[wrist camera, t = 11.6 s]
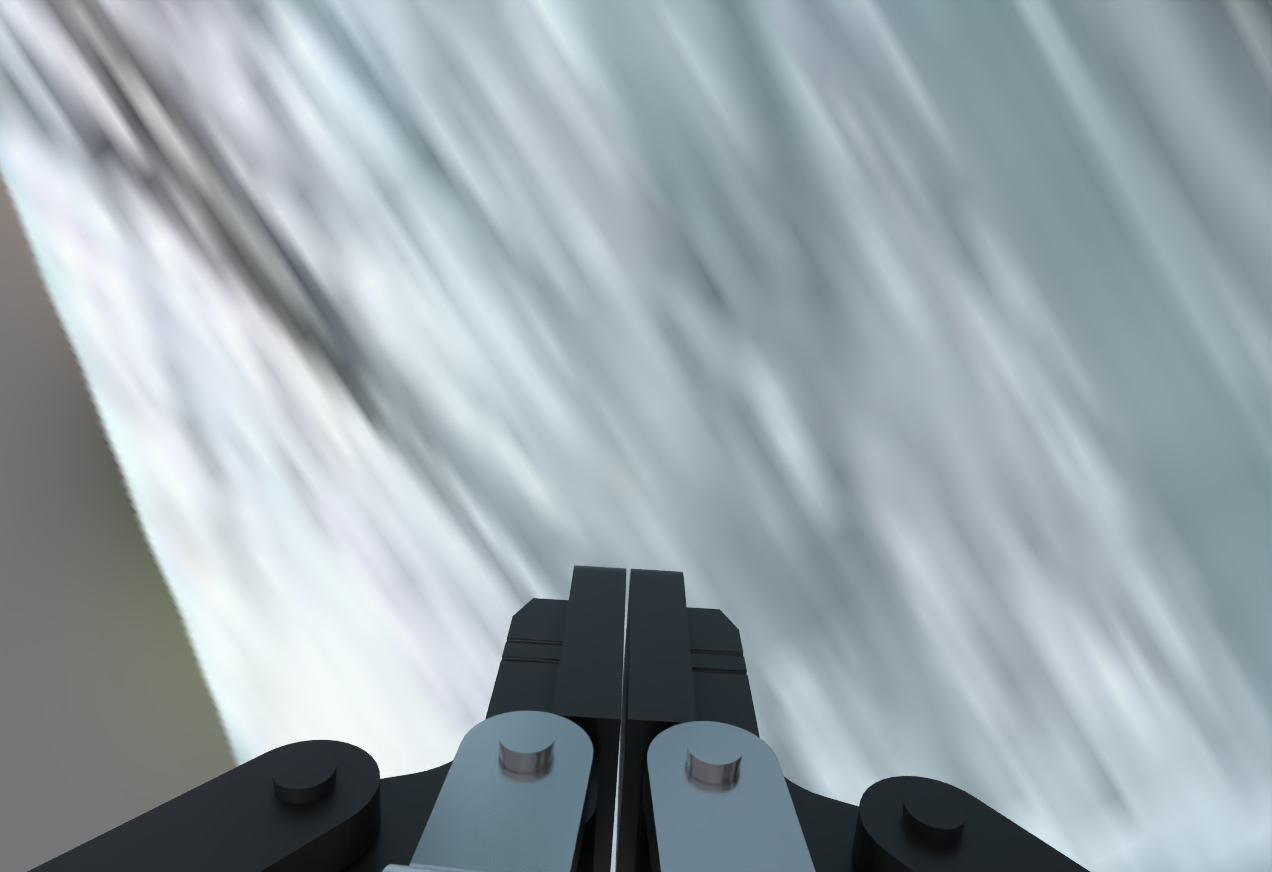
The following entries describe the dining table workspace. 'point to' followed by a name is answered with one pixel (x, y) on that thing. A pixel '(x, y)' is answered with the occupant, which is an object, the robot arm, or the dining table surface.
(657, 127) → the dining table surface
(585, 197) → the dining table surface
